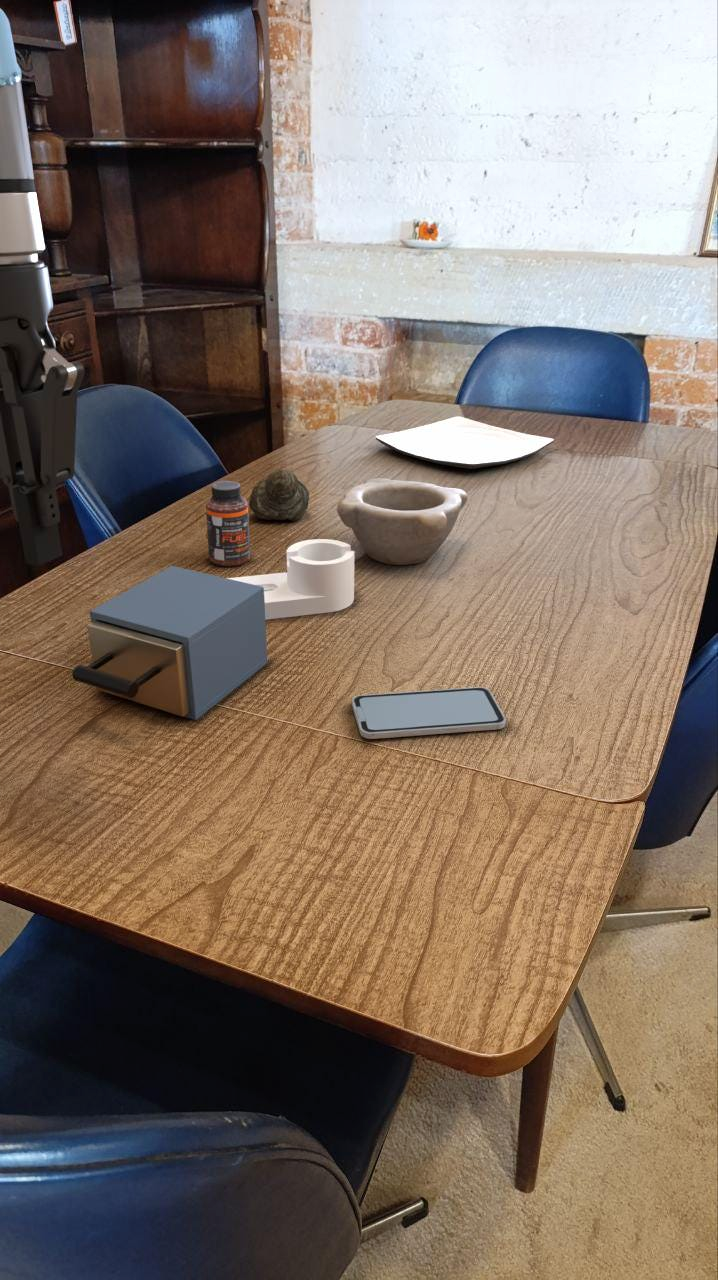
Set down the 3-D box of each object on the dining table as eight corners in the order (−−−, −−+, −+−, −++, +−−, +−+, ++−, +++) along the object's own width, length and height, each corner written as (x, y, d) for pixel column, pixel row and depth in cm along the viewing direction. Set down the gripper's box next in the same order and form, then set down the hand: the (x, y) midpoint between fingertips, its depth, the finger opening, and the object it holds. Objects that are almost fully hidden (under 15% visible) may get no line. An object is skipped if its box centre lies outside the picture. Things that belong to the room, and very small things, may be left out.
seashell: (229, 491, 136) (290, 496, 133) (250, 434, 141) (309, 438, 139) (249, 535, 145) (306, 540, 143) (267, 480, 151) (323, 484, 148)
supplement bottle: (224, 571, 124) (219, 494, 118) (201, 559, 127) (195, 484, 122) (259, 560, 127) (255, 485, 122) (235, 549, 131) (230, 475, 126)
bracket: (344, 581, 121) (344, 536, 118) (361, 608, 113) (362, 560, 110) (198, 597, 116) (194, 550, 113) (206, 626, 108) (202, 576, 105)
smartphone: (508, 723, 88) (361, 734, 86) (507, 730, 89) (361, 741, 86) (487, 685, 95) (350, 695, 92) (486, 692, 95) (350, 702, 93)
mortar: (471, 543, 134) (476, 485, 130) (436, 584, 120) (439, 521, 116) (370, 527, 140) (371, 471, 135) (325, 565, 126) (324, 503, 121)
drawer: (151, 742, 85) (142, 672, 81) (62, 712, 89) (50, 645, 86) (251, 663, 98) (248, 601, 95) (170, 641, 103) (164, 580, 99)
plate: (563, 452, 178) (564, 439, 177) (472, 481, 161) (473, 467, 160) (456, 426, 197) (457, 414, 195) (364, 449, 179) (365, 436, 178)
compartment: (195, 720, 90) (188, 637, 85) (101, 690, 95) (89, 611, 90) (267, 663, 100) (264, 586, 96) (179, 638, 106) (171, 565, 101)
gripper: (-114, 258, 63) (-46, 560, 74) (18, 266, 58) (70, 590, 69) (-30, 251, 69) (22, 532, 80) (96, 258, 64) (133, 558, 75)
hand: (44, 558), depth 75 cm, fingers closed
